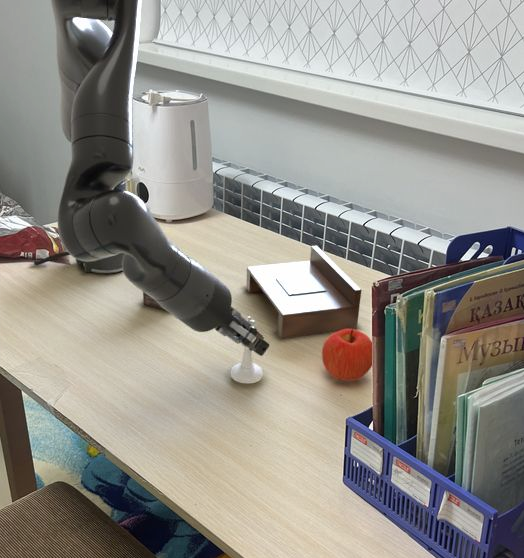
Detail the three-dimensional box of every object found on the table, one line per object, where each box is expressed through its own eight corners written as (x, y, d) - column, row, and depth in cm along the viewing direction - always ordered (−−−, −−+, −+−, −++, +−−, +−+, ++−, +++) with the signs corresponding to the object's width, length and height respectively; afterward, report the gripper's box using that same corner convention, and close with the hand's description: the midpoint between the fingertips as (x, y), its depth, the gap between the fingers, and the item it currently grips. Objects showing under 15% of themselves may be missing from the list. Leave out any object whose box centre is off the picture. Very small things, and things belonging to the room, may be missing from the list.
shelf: (281, 338, 116) (283, 298, 113) (246, 288, 133) (247, 251, 129) (356, 328, 120) (361, 289, 117) (313, 280, 137) (316, 245, 133)
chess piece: (229, 366, 107) (231, 309, 102) (261, 365, 108) (264, 309, 103) (231, 383, 103) (233, 325, 98) (264, 383, 104) (267, 325, 98)
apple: (368, 361, 111) (374, 317, 107) (374, 389, 104) (381, 343, 100) (318, 359, 111) (323, 315, 107) (321, 387, 104) (326, 341, 100)
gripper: (238, 289, 87) (303, 345, 100) (178, 252, 96) (245, 308, 109) (202, 337, 87) (273, 387, 100) (146, 296, 96) (217, 346, 109)
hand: (258, 345), depth 104 cm, fingers closed on chess piece
